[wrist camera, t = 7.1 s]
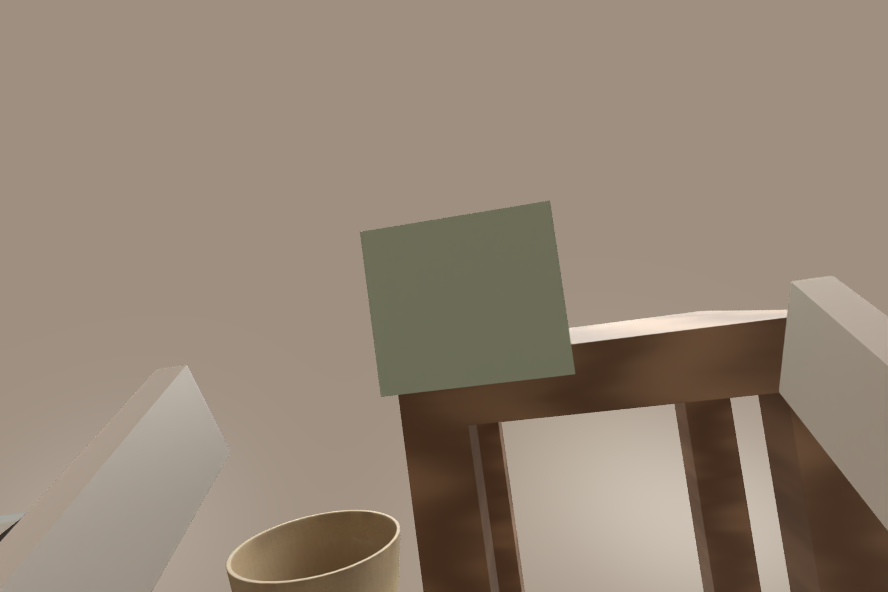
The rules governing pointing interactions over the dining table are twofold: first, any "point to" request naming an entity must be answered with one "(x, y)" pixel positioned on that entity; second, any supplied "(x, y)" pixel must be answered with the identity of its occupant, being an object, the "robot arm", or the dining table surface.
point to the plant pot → (320, 555)
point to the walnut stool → (703, 448)
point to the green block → (467, 301)
